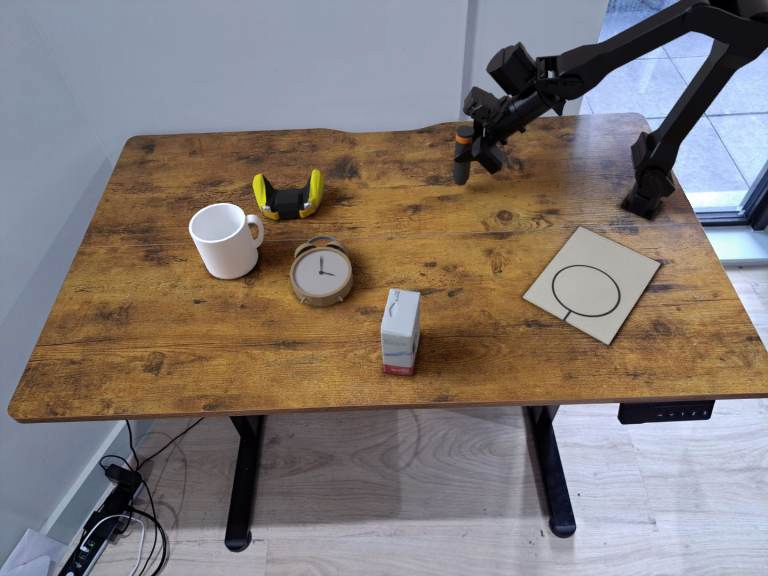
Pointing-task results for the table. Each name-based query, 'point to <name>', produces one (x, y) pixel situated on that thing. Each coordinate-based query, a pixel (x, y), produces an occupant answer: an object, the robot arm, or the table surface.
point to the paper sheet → (592, 284)
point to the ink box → (400, 331)
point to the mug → (226, 239)
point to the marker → (462, 141)
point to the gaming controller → (289, 197)
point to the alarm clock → (321, 272)
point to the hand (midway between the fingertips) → (456, 155)
